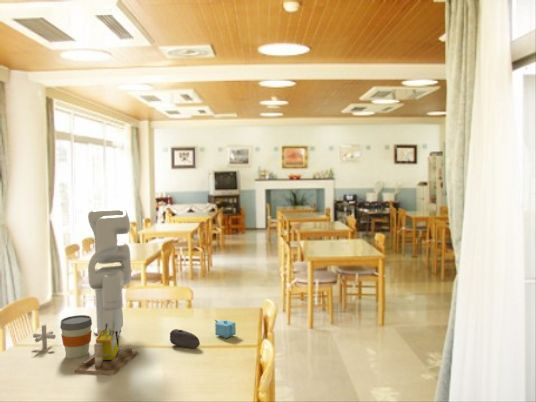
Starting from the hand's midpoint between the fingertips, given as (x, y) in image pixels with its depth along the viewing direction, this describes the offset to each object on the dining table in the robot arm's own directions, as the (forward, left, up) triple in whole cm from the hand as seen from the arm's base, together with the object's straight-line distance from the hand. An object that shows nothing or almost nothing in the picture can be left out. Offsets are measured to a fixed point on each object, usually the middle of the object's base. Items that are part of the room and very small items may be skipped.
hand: (114, 347), depth 203 cm
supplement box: (+3, 0, -3) cm, 4 cm away
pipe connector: (-7, -37, -5) cm, 38 cm away
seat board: (+5, 0, -5) cm, 7 cm away
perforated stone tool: (-17, +25, -5) cm, 31 cm away
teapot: (-33, +38, -5) cm, 51 cm away
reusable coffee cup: (-2, -18, -5) cm, 19 cm away
